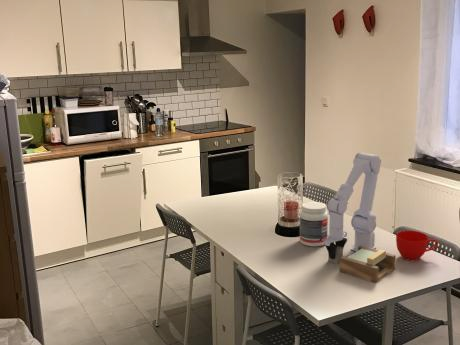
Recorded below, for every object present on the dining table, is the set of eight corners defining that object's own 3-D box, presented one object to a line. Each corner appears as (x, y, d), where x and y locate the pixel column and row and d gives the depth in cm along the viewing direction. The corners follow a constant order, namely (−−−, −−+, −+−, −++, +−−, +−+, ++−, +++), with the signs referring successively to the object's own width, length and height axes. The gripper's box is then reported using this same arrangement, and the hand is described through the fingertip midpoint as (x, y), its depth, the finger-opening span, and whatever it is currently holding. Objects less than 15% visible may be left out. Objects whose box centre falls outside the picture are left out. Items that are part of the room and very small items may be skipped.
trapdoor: (361, 250, 217) (361, 244, 217) (385, 257, 210) (386, 250, 209) (347, 259, 209) (347, 252, 208) (371, 266, 202) (372, 259, 201)
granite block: (333, 257, 223) (334, 244, 222) (342, 260, 220) (343, 247, 219) (328, 261, 220) (328, 248, 219) (337, 263, 217) (337, 250, 216)
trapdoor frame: (359, 258, 222) (360, 245, 220) (394, 268, 211) (395, 255, 209) (339, 271, 210) (339, 257, 208) (375, 282, 199) (376, 268, 198)
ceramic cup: (439, 265, 213) (441, 242, 210) (396, 263, 216) (398, 240, 214) (433, 253, 225) (435, 231, 223) (393, 250, 229) (394, 229, 226)
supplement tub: (329, 247, 234) (330, 209, 230) (301, 248, 235) (301, 209, 230) (325, 237, 247) (325, 200, 242) (298, 237, 247) (298, 201, 243)
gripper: (337, 220, 224) (336, 248, 228) (318, 229, 214) (318, 259, 217) (351, 223, 220) (350, 252, 223) (333, 233, 209) (332, 263, 213)
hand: (335, 256), depth 220 cm, fingers open, 5 cm apart
